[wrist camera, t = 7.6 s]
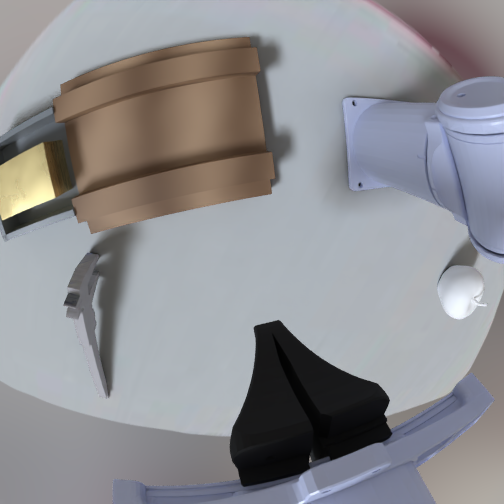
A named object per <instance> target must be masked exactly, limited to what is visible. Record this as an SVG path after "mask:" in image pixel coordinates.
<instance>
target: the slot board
mask: <svg viewBox="0 0 504 504" xmlns="http://www.w3.org/2000/svg"><path fill="white" fill-rule="evenodd" d="M259 72H260V65H259V58H258V52H257V47H253V48H251V44H250V38H249V37H242V38H230V39H220V40H212V41H205V42H198V43H192V44H186V45H181V46H176V47H171V48H166V49H162V50H158V51H153V52H150V53H146V54H142V55H138V56H135V57H131V58H128V59H125V60H122V61H119V62H116V63H113V64H110V65H107V66H104V67H101V68H99V69H96V70H93V71H91V72H88V73H86V74H83V75H81V76H79V77H76V78H74V79H72V80H70V81H67V82H65V83H63V84H61V85H60V86H61V96H59V97H57V98H55V99H53V107H54V116H55V123H65V129H66V135H67V141H68V146H69V152H70V157H71V161H72V166H73V171H74V175H75V179H76V183H77V187H78V191H79V195H77V196H76V197H74V198H72V199H71V200H72V204H73V207H74V210H75V214H76V217H77V220H78V223H81V222H84V221H87V222H88V226H89V229H90V232H91V234H93V233H97V232H100V231H104V230H108V229H111V228H115V227H119V226H123V225H127V224H131V223H135V222H139V221H143V220H147V219H151V218H155V217H160V216H164V215H168V214H173V213H177V212H182V211H186V210H191V209H195V208H200V207H205V206H210V205H215V204H220V203H225V202H230V201H235V200H240V199H246V198H251V197H257V196H262V195H268V194H272V190H271V182H270V179H275V171H274V163H273V155H272V152H269V151H266V143H265V136H264V129H263V122H262V114H261V108H260V101H259V94H258V87H257V81H256V75H257V74H258V73H259Z"/></svg>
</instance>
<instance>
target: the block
mask: <svg viewBox="0 0 504 504" xmlns="http://www.w3.org/2000/svg"><path fill="white" fill-rule="evenodd" d="M71 189H73V188H72V184H71V180H70V176H69V171H68V167H67V162H66V158H65V153H64V147H63V142H62V140H57V141H48V142H43V143H41V144H39V145H37V146H35V147H33V148H31V149H29V150H27V151H25V152H23V153H21V154H19V155H18V156H16V157H14V158H12V159H11V160H9V161H7V162H6V163H4V164H2V165H1V166H0V215H1V218H2V221H3V220H5V219H7V218H9V217H11V216H13V215H15V214H18V213H20V212H22V211H24V210H27V209H29V208H31V207H34V206H36V205H39V204H41V203H44V202H46V201H49V200H51V199H54V198H56V197H58V196H60V195H61V194H63V193H65V192H67V191H69V190H71Z"/></svg>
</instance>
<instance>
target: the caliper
mask: <svg viewBox="0 0 504 504" xmlns="http://www.w3.org/2000/svg"><path fill="white" fill-rule="evenodd" d="M98 259H99V255H97V254H92V253H87V254H86V255H85V256H84V258H83V259H82V260H81V262H80V263H79V264H78V266H77V267H76V269H75V271H74V273H73V276H72V278H71V280H70V282H69V285H68V287H67V288H68V295H67V298H66V300H65V302H64V306H66V307H68V309H67V314H66V317H68V318H72V319H73V320H74V324H75V328H76V332H77V335H78V339H79V342H80V345H83V349H84V352H85V356H86V359H87V363H88V366H89V369H90V372H91V375H92V378H93V381H94V384H95V386H96V389H97V392H98V395H99V397H102V398H106V399H107V398H109V395H108V388H107V383H106V379H105V375H104V372H103V368H102V364H101V360H100V355H99V351H98V346H97V341H96V336H95V328H96V320H95V312H94V310H93V308H92V300H93V296H94V292H95V288H96V285H97V281H98V277H99V271H95V270H94V268H95V266H96V263H97V261H98Z"/></svg>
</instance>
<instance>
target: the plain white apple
mask: <svg viewBox="0 0 504 504" xmlns="http://www.w3.org/2000/svg"><path fill="white" fill-rule="evenodd" d="M437 291H438V295H439V298H440V300H441V303H442V306H443V308H444V310H445V312H446V313H447V314H448V315H449V316H451V317H453V318H455V319H463V318H465V317H467V316H468V315H470V314H471V313H472V312H473V311H474V310H475V308H476V307H477V305H479V306H487V305H488V303H481V302H480V300H481V297H482V295H483V292H484V279H483V276H482V274H481V273H480V272H479V271H478V270H477V269H476V268H474V267H471V266H460V265H454V266H451V267H449V269H447V270H446V271H445V272H444V273H443V275H442V276H441V278H440V280H439V282H438V287H437Z"/></svg>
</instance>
